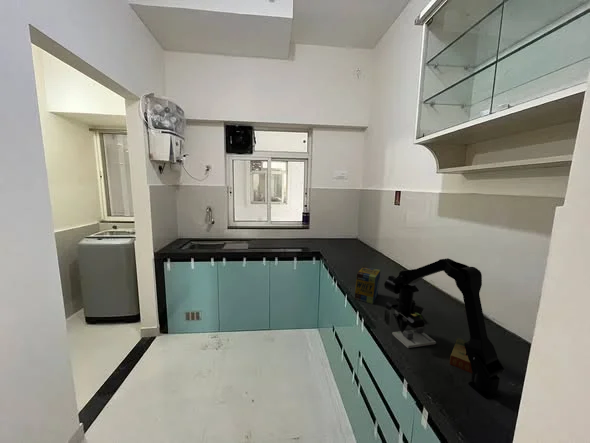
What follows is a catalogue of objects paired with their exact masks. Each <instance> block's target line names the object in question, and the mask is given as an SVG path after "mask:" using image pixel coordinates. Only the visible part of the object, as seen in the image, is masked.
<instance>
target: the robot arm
mask: <svg viewBox="0 0 590 443" xmlns="http://www.w3.org/2000/svg"><path fill="white" fill-rule="evenodd" d="M440 272H444V273H445V274H446V276H448V277H449V278H452V279H453V280H454V282H455V286H456V287H457V288H458V290H459V291H460V292H461V294H462V298H463V304H464V309H465V315H466V319H467V320H466V321H467V325H468V330H469V336H470V337H469V340H468V342H465V343H464V346H465V349H466V356H467V355H468V359H469V361H470V363H471V368H472V373H471V378H470V381H468V382H467V385H469V386H470V387H471V388H472V389H473V390H474V391H476V392H477V393H479V395H481V396H482V397H483V398H485V399H489V398H493V397H497V396H498V397H499V396H501V392H499V390H498V389H499V385H500V380H501V379H500V377H499V376H498V375H501V374H503V373H504V371H505V370H506V369H505V367H504V366H503V364H502V362H501V361H500V360H499V358H498V354H497V352H496V349H495V346H494V344H493V343H492V342H491V340H490V339H489V337H488V334H487V328H486V322H485V319H484V318H485V317H484V313H483V312H484V311H483V306H482V300H481V297H480V292H481V289H482V286H483V280H482V278H483V276H482V272H481V270H479V269H478V268H477V267H474V266H469V265H467V264H465V263H461V262H458V261H455V260H453V259H451V258H449V257H448V258H441V259H438V260H436V261H435V262H431V263H428V264H426V265H423V266H421V267H418V268H414V269H406V270H401V271H399V273H398V275H397V277H395V276H394V275H388V278H387V279H386V280H385V282H384V286H383V287H384V289H386V290H387V291H389V292H391V293H393V294H396V295H398V298H396V299H395V300H393V301H387V302H386V303H385V309H387V310H388V311H390V310H392V308H393V310H394V313H392V314H393V316H394V318H395V319H394V320H395V321H396V323H397V326H398V329H399V331H401V332H404V330H406V328H407V327H408V326H410V327H411V328H413V329H414V328H418V327H424V328H425V323H426V322H425V319H421V318H420V317H418V316H413V315H412V314H415V313H418V314H420V315H421V316H422V313H423V311H424V309H425V308H424V307H423V306H421V305H419V304H418V303H416V300H414V295H415V293H417V292H419V291H420V289H419V288H418V287H417V286H416V285H411V284H415V283H418V282H419V281H421V280H423V278H425V277H428V276H431V275H435V274H437V273H440Z"/></svg>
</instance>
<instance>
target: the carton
mask: <svg viewBox="0 0 590 443" xmlns="http://www.w3.org/2000/svg"><path fill="white" fill-rule="evenodd" d="M468 341H469V340H468ZM468 341H467V340H465V339H463V338H459V337H457V338H456V341H455V344H454V346H453V349H452V352H451V354H450V356H449V357H450V358H449V363H448V364H449V365H450V366H453V367H455V368H458V369H460V370H462V371H465V372H467V373H469V374H472V368H471V363H470V361H469V359H468V355H467V356H466V349H465V346H464V343H465V342H468Z"/></svg>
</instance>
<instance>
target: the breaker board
mask: <svg viewBox="0 0 590 443" xmlns="http://www.w3.org/2000/svg"><path fill="white" fill-rule="evenodd" d="M410 330H411V331H412V332H413V333H414V334H413V339H407V338H406V337H404V336H403V335H404V332H401V331H400V330H398V331H392V336H393V337H395V339H397V340H398V341H399V342H400V343H402V344H403V345H404V346H405V347H406V348H407V349H410V348H411V349H412V348H417V347H423V346H424V347H425V346H430V345H431V346H432V345H436V344H437V341H435V339H433V338H432V337H430V336H429V335H428V334H426V333H425V332H424V333H417V332H416V331H415V330H413V329H410Z"/></svg>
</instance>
